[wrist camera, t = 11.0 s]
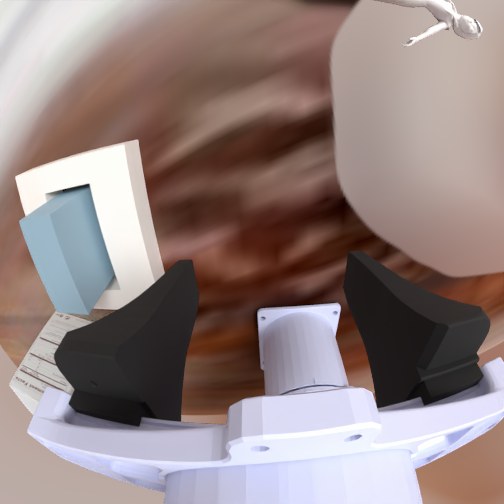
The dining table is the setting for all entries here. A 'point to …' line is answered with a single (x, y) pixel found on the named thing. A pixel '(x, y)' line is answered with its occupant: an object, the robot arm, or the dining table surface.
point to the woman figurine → (442, 19)
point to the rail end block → (69, 250)
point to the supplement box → (44, 361)
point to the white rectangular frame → (107, 212)
